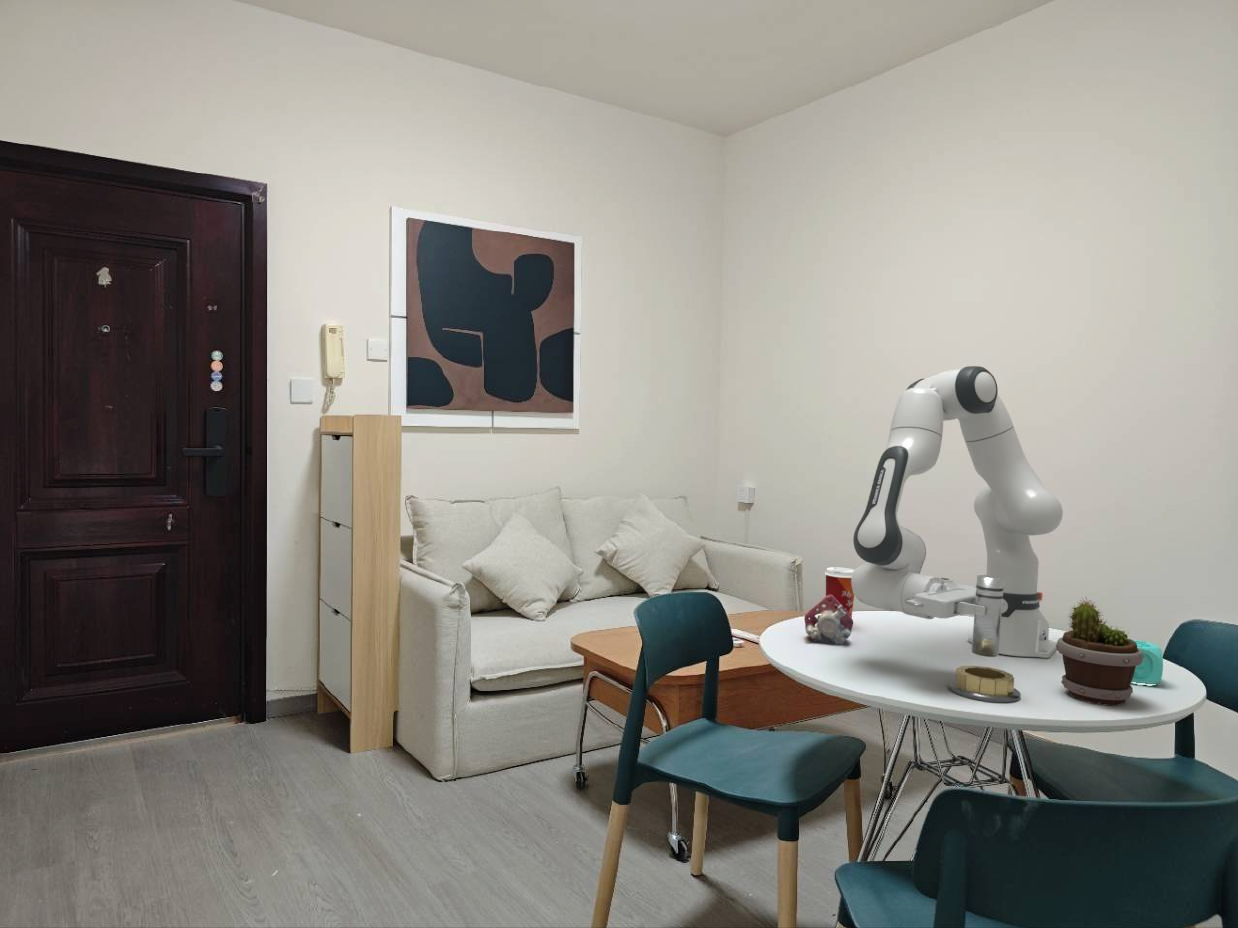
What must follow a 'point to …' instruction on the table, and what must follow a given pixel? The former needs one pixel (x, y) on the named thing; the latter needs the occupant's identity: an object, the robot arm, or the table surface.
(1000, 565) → the robot arm
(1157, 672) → the decorative dice
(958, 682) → the ring seat
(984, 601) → the piston
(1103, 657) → the flowerpot
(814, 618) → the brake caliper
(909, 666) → the table surface
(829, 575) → the coffee cup
